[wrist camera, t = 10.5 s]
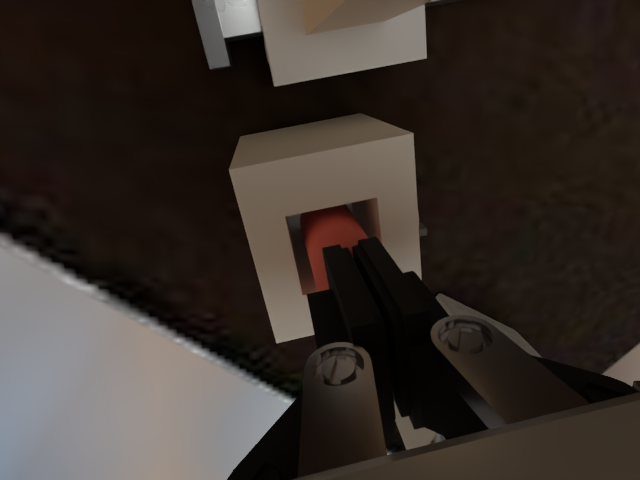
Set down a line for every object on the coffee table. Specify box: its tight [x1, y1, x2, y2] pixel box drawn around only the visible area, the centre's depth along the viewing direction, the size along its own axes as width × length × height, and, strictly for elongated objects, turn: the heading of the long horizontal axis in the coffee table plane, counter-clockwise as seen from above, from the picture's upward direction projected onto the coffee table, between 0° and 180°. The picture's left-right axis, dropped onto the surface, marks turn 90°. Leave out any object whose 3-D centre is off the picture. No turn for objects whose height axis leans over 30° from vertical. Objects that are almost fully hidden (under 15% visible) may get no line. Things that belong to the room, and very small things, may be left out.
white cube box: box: [229, 113, 427, 343], centre depth 16 cm, size 7×7×7 cm
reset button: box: [300, 204, 368, 292], centre depth 14 cm, size 2×2×5 cm
